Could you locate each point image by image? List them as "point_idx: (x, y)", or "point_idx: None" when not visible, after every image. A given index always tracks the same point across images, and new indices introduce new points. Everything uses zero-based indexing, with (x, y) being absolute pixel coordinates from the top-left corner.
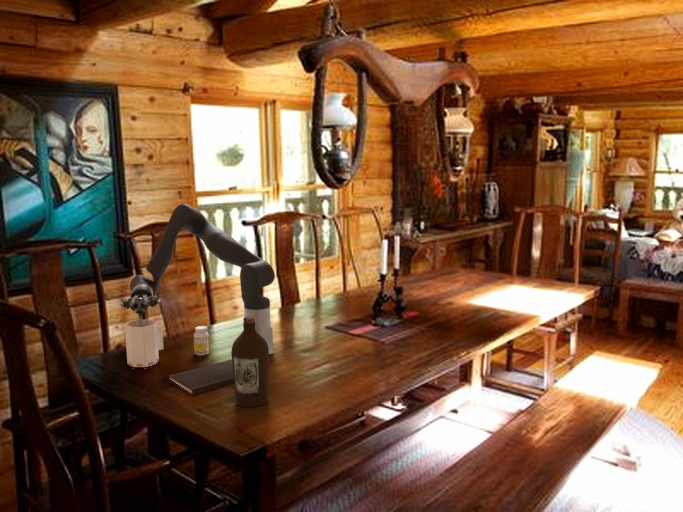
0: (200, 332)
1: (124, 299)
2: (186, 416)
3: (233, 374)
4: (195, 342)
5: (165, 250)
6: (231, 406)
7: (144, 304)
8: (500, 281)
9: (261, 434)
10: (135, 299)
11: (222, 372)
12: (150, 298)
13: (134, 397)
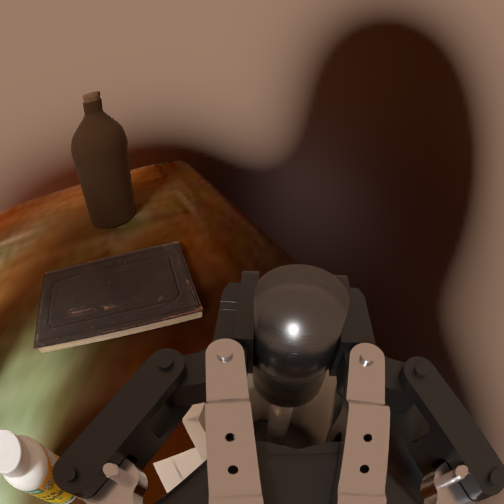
0: (20, 438)
1: (470, 454)
2: (207, 203)
3: (127, 175)
4: None
5: None
6: (144, 210)
7: (251, 271)
8: None
9: (150, 171)
10: (332, 278)
11: (93, 285)
12: (166, 495)
13: (283, 265)
